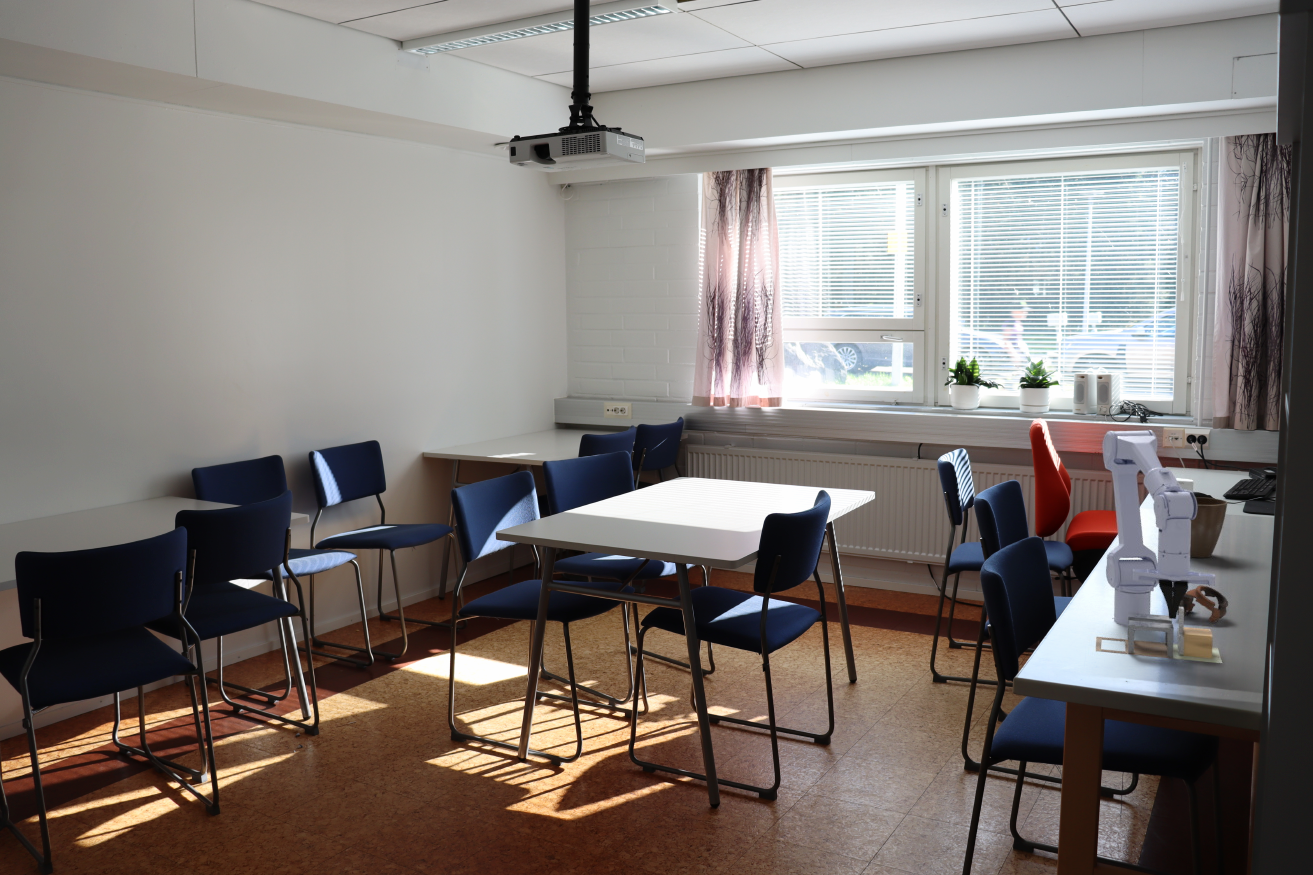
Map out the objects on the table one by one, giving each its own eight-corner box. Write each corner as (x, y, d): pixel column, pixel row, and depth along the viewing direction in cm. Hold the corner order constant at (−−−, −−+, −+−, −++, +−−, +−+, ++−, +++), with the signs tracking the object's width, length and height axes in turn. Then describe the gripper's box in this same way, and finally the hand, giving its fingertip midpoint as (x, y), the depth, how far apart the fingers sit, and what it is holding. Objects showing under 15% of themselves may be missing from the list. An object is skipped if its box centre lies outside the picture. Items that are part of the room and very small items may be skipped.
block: (1181, 647, 201) (1182, 626, 201) (1209, 650, 199) (1210, 629, 198) (1183, 655, 196) (1183, 633, 196) (1212, 658, 194) (1212, 636, 194)
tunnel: (1127, 639, 207) (1128, 612, 207) (1170, 643, 204) (1171, 615, 203) (1128, 653, 199) (1128, 624, 198) (1173, 657, 195) (1173, 628, 195)
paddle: (1177, 645, 202) (1178, 603, 201) (1181, 645, 201) (1182, 604, 201) (1179, 654, 196) (1180, 611, 195) (1183, 654, 196) (1184, 611, 195)
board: (1096, 643, 210) (1096, 636, 210) (1217, 654, 201) (1217, 647, 200) (1095, 657, 201) (1095, 650, 201) (1222, 670, 192) (1222, 662, 191)
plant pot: (1158, 549, 294) (1159, 496, 292) (1209, 548, 293) (1210, 495, 292) (1182, 561, 279) (1184, 505, 277) (1236, 560, 278) (1238, 504, 277)
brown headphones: (1198, 611, 233) (1218, 584, 229) (1220, 639, 225) (1241, 612, 221) (1154, 602, 231) (1173, 575, 227) (1175, 630, 223) (1195, 603, 219)
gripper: (1134, 552, 197) (1132, 619, 198) (1217, 557, 191) (1215, 626, 192) (1133, 545, 203) (1132, 610, 205) (1214, 550, 197) (1212, 616, 199)
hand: (1172, 617), depth 199 cm, fingers closed
